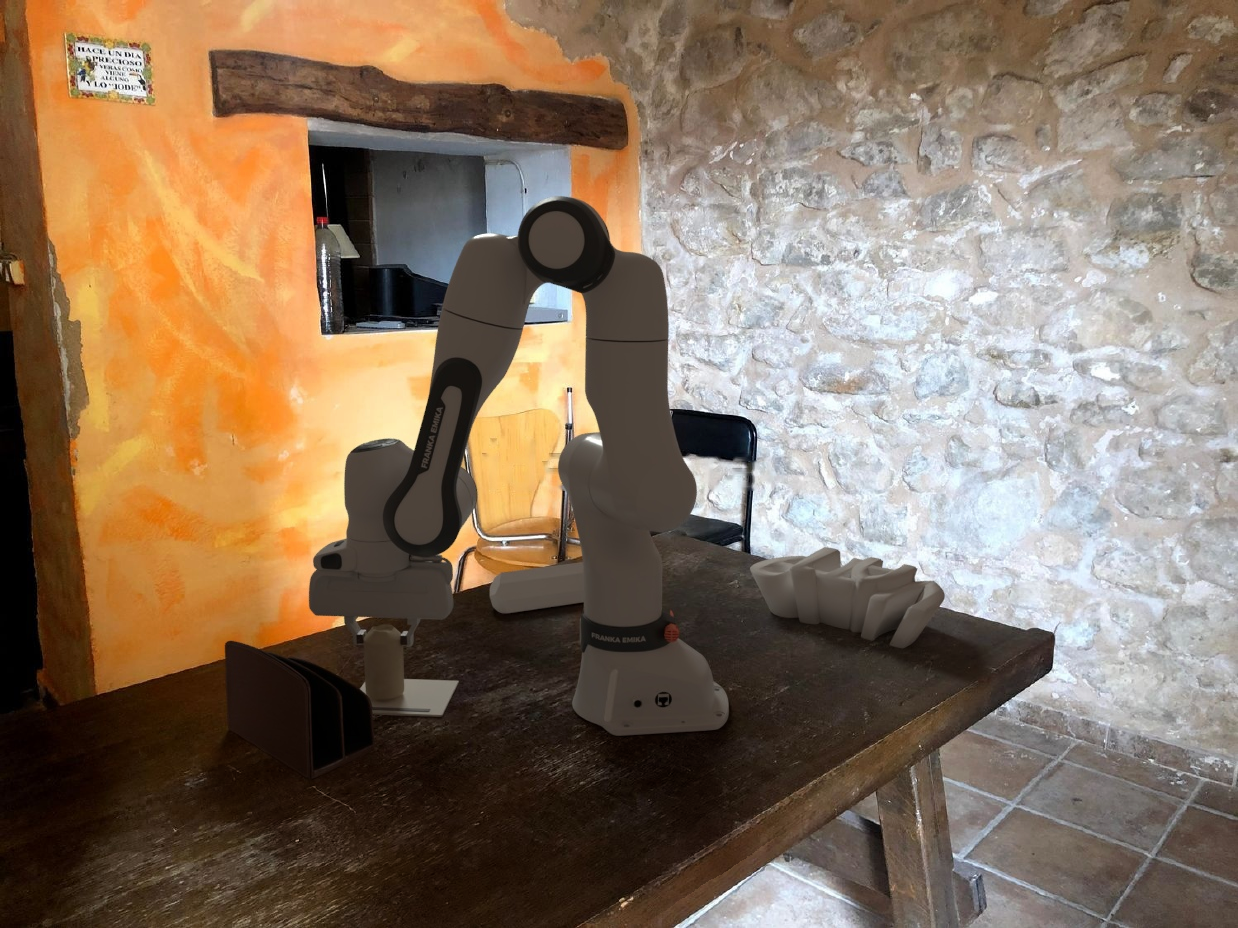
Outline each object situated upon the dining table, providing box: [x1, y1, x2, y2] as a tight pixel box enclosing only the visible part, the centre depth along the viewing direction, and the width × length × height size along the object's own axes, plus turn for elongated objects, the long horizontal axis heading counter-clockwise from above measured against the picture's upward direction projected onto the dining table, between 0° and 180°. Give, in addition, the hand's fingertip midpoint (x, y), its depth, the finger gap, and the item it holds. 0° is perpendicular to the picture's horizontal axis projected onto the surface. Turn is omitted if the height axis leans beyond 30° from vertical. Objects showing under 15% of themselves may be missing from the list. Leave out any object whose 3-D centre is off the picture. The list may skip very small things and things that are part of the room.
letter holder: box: [224, 640, 376, 781], centre depth 130 cm, size 10×20×14 cm, turn 50°
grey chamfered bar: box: [489, 561, 584, 614], centre depth 183 cm, size 7×7×24 cm
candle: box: [363, 623, 405, 700], centre depth 143 cm, size 6×6×10 cm
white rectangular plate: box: [359, 678, 460, 718], centre depth 144 cm, size 14×11×1 cm
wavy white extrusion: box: [749, 546, 946, 649], centre depth 173 cm, size 35×16×11 cm, turn 49°
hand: (383, 644), depth 142 cm, fingers closed on candle, 5 cm apart
